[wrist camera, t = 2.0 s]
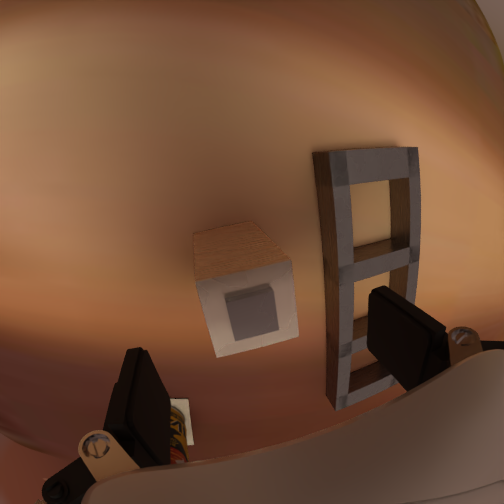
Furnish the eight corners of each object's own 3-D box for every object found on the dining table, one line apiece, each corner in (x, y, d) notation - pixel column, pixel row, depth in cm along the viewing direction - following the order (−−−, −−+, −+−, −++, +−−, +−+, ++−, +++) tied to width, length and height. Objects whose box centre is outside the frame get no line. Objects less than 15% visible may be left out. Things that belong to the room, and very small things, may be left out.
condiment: (187, 397, 23) (199, 512, 12) (193, 443, 25) (206, 534, 14) (112, 394, 21) (95, 503, 10) (131, 441, 24) (127, 530, 13)
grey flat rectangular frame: (312, 152, 18) (328, 151, 16) (397, 146, 19) (417, 147, 17) (326, 395, 26) (335, 411, 24) (387, 369, 28) (398, 382, 25)
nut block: (193, 233, 18) (195, 286, 11) (251, 220, 19) (294, 263, 11) (206, 286, 20) (217, 363, 12) (260, 274, 20) (301, 341, 12)
